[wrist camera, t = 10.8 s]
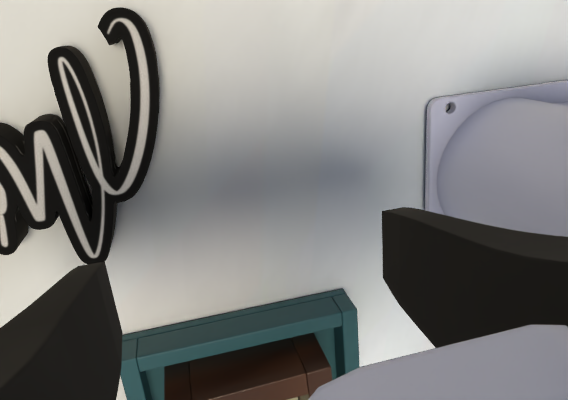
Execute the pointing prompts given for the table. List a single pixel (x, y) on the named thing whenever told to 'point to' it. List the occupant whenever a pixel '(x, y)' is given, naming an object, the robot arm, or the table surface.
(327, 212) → the table surface
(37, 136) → the nameplate
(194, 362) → the frame
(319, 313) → the holder
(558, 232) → the robot arm
